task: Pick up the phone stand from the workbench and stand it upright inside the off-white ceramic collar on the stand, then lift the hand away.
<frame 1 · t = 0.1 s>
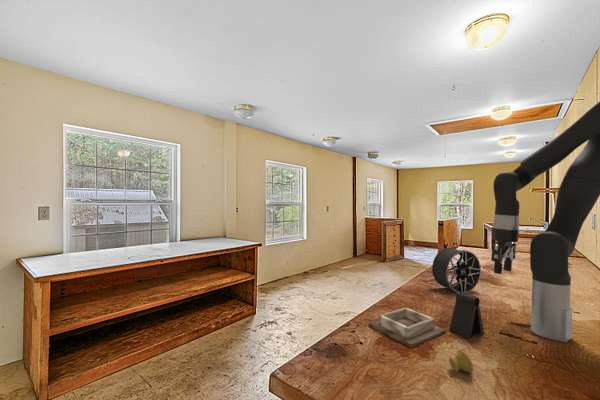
hand: (502, 272, 100), 17 cm above the worktop, tool pointing down, fingers open, 8 cm apart
collar stand: (406, 329, 90), on the worktop
wheel rim: (455, 290, 134), on the worktop
knob: (460, 372, 68), on the worktop
phone stand: (466, 332, 90), on the worktop
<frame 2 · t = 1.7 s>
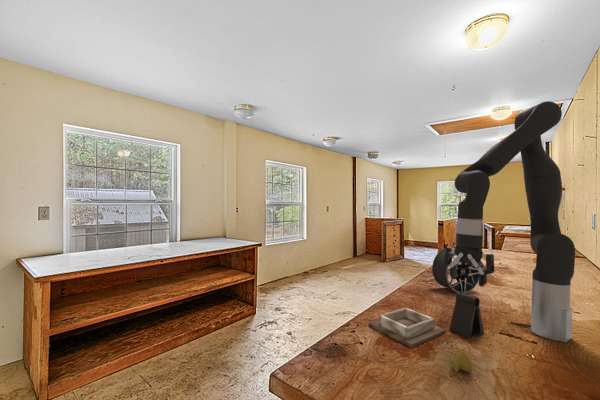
hand: (467, 282, 90), 16 cm above the worktop, tool pointing down, fingers open, 8 cm apart
nothing on the worktop moved.
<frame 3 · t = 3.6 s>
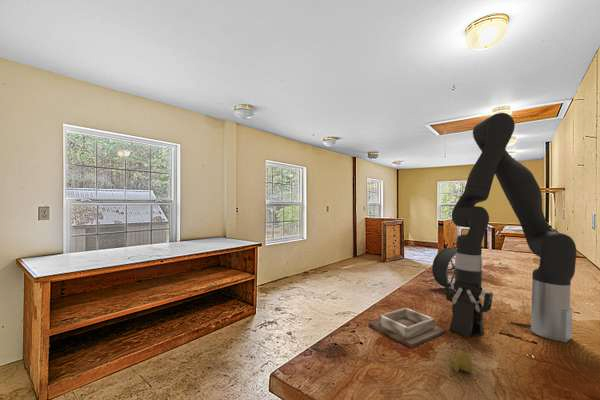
hand: (466, 318, 90), 4 cm above the worktop, tool pointing down, fingers closed on phone stand, 6 cm apart
phone stand: (466, 332, 90), on the worktop, touching gripper
everything else where it was.
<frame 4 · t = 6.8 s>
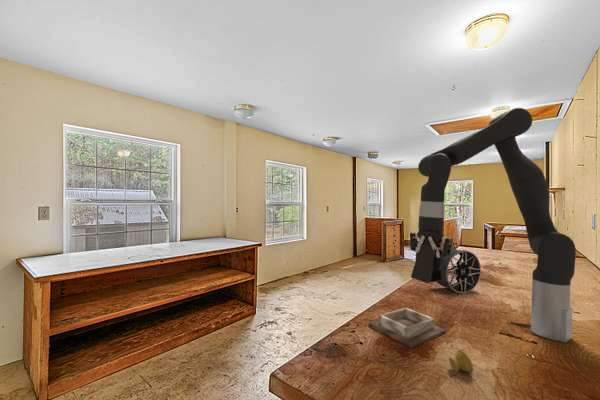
hand: (428, 266, 91), 21 cm above the worktop, tool pointing down, fingers closed on phone stand, 6 cm apart
phone stand: (427, 279, 91), point 16 cm above the worktop, touching gripper
everything else where it was.
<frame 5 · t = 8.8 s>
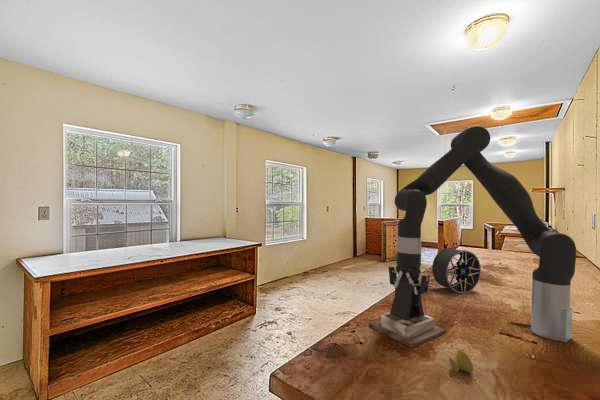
hand: (407, 301, 90), 9 cm above the worktop, tool pointing down, fingers closed on phone stand, 6 cm apart
phone stand: (406, 315, 90), point 5 cm above the worktop, touching gripper
everything else where it was.
when the fingers open (6 cm above the worktop, at t = 10.2 s): phone stand drops 1 cm, resting on collar stand.
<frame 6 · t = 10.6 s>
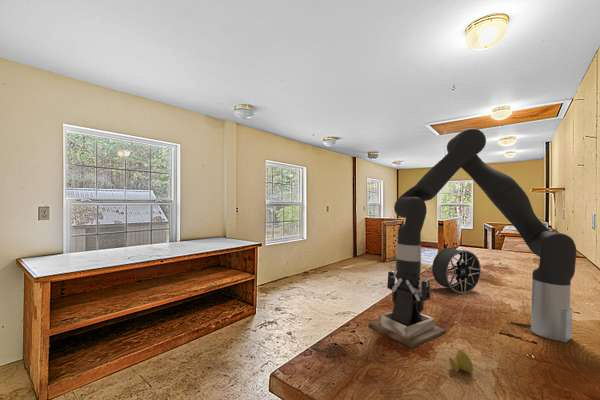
hand: (406, 307, 90), 7 cm above the worktop, tool pointing down, fingers open, 8 cm apart
phone stand: (406, 326, 90), point 1 cm above the worktop, touching collar stand
everything else where it was.
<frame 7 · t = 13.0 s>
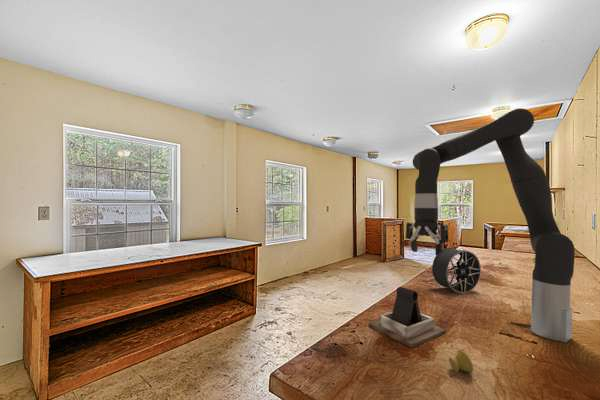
hand: (426, 253, 96), 24 cm above the worktop, tool pointing down, fingers open, 8 cm apart
nothing on the worktop moved.
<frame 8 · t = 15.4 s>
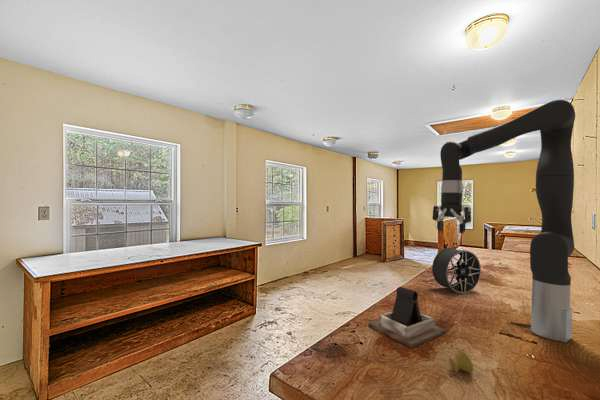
hand: (450, 232, 112), 30 cm above the worktop, tool pointing down, fingers open, 8 cm apart
nothing on the worktop moved.
at the end: phone stand 0.2 cm off-centre on the collar stand, point 0.8 cm above the collar stand's base; phone stand tilted 0°; the gripper is holding nothing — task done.
